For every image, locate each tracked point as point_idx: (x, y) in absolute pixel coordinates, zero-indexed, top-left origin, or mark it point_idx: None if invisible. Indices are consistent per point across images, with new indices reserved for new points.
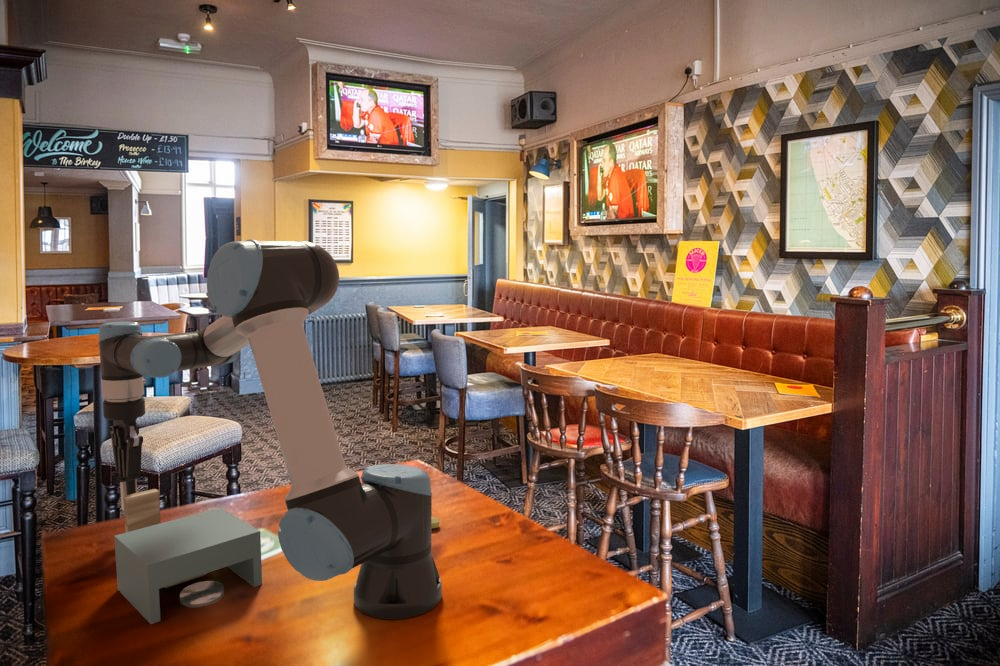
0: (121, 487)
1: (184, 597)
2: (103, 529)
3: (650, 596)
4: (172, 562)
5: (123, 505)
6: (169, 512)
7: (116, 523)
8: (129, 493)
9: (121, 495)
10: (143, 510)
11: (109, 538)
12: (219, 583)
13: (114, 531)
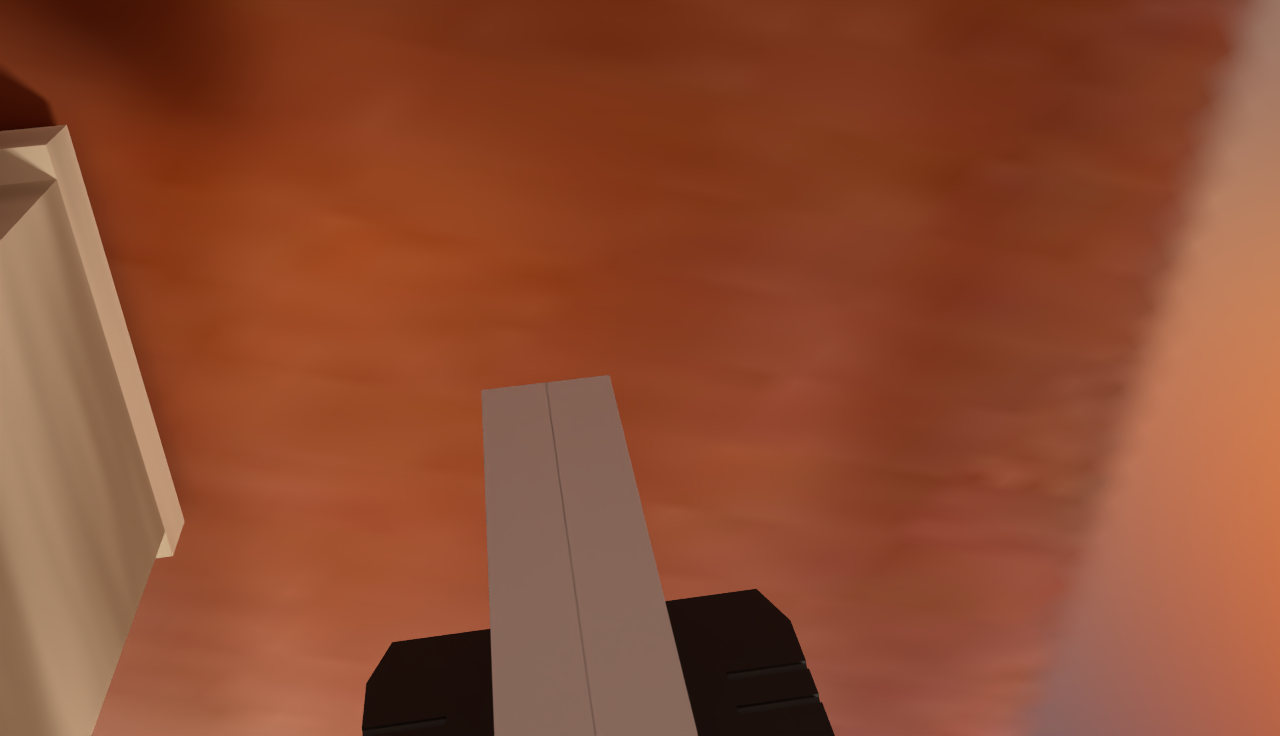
0: (592, 682)
1: None
2: (1016, 59)
3: None
4: None
5: (492, 448)
6: (959, 689)
7: (1085, 224)
8: (369, 710)
9: (600, 542)
10: None
11: (656, 58)
12: None
13: (849, 155)
